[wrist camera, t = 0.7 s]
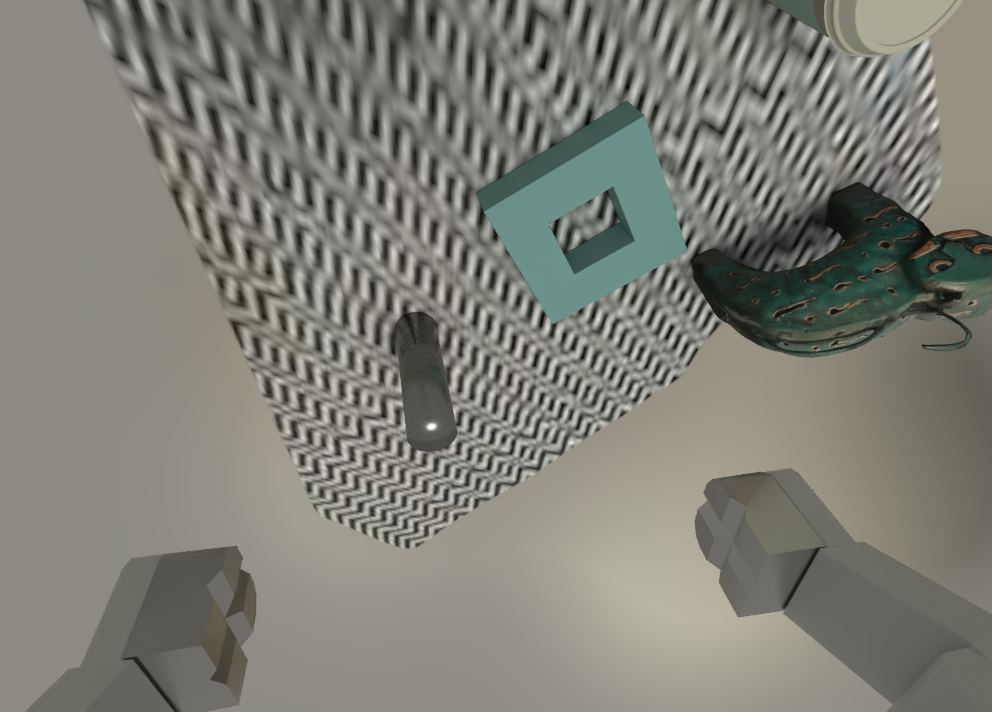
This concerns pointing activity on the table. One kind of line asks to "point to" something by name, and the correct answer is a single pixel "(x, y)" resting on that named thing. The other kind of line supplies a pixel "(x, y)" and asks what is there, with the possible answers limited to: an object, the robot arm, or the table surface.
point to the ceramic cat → (855, 282)
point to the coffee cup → (871, 22)
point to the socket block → (570, 183)
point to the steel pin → (424, 384)
